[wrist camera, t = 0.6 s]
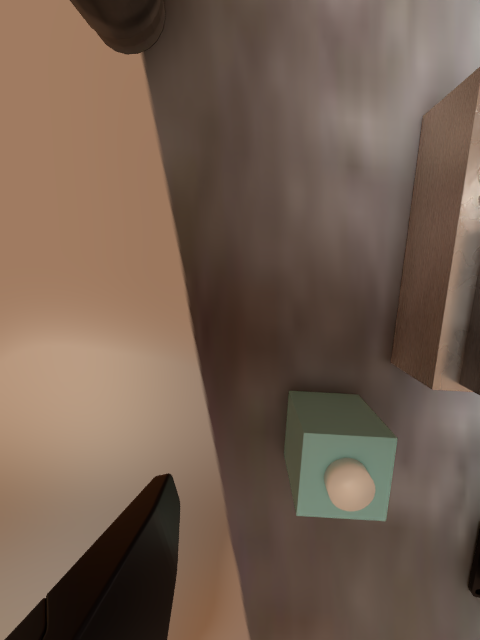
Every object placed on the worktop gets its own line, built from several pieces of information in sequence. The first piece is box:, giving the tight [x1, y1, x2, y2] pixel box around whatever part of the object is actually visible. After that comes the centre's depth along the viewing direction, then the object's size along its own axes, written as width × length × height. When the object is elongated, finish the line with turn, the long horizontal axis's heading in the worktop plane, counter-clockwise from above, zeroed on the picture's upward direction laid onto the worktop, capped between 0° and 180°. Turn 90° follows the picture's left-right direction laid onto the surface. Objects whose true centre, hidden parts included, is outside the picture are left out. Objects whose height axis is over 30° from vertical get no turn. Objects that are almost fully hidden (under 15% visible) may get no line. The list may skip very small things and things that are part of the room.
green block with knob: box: [284, 391, 398, 521], centre depth 20 cm, size 5×5×7 cm
